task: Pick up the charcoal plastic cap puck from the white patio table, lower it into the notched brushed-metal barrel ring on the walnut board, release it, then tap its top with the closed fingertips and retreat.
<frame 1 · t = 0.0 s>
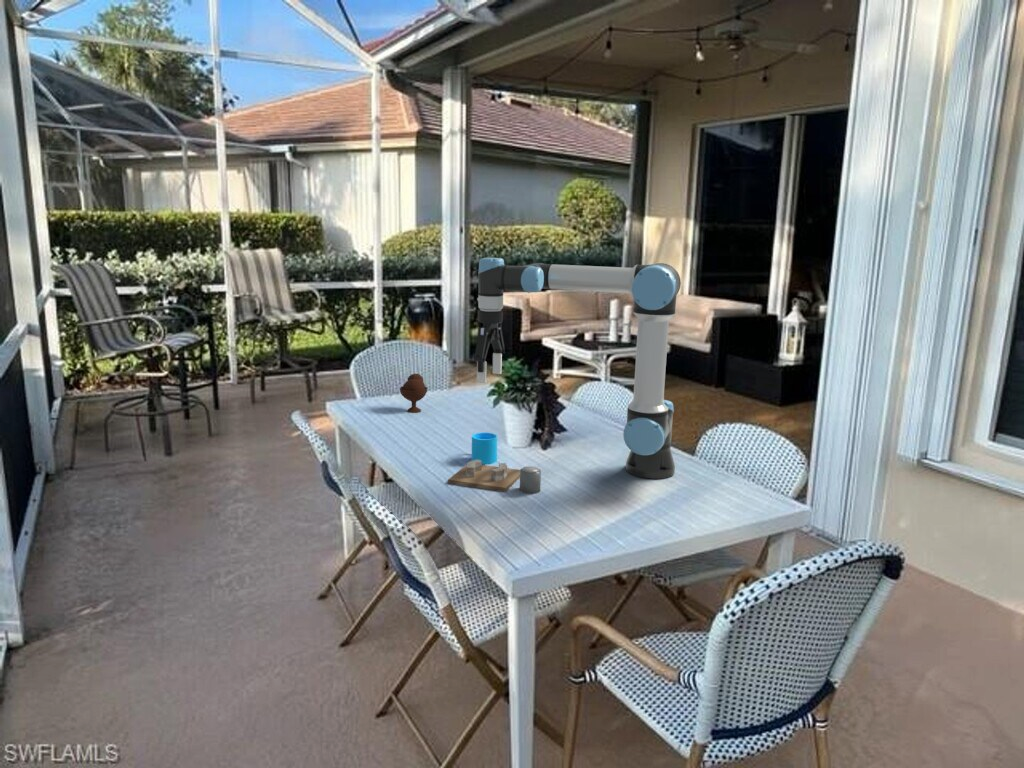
hand: (489, 378, 231), 28 cm above the table, fingers open, 13 cm apart
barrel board: (486, 478, 224), on the table
ice cream bowl: (414, 411, 297), on the table
mug: (481, 459, 242), on the table
cap: (529, 490, 216), on the table
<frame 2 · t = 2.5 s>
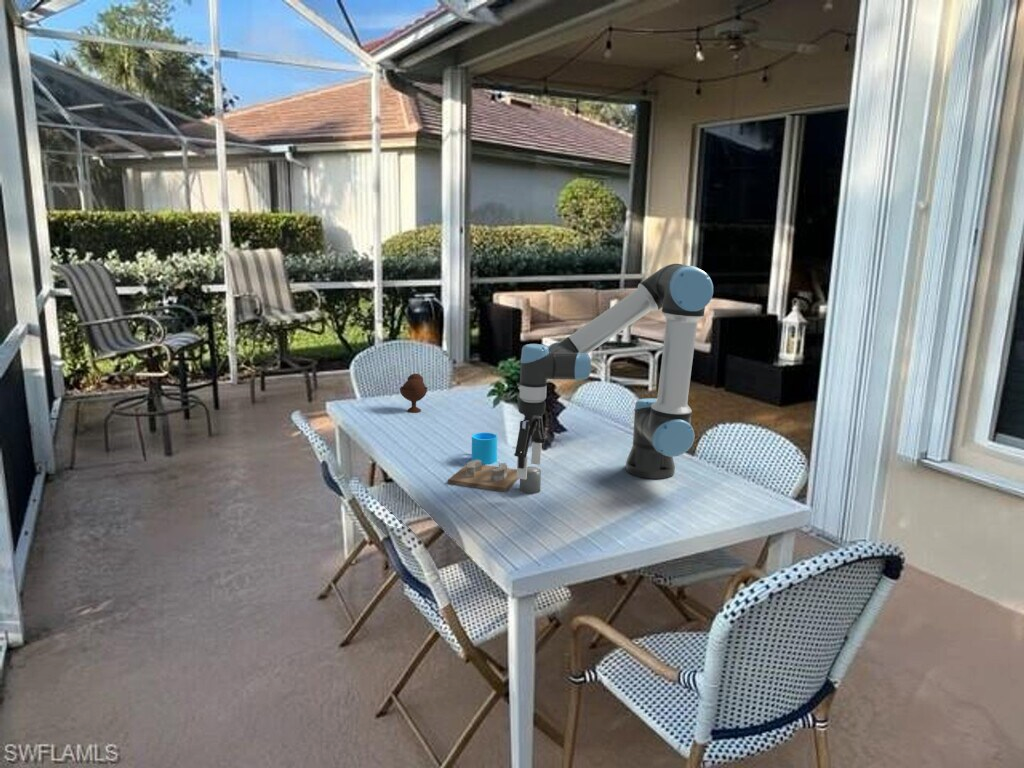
hand: (528, 471, 214), 6 cm above the table, fingers open, 13 cm apart
nothing on the table moved.
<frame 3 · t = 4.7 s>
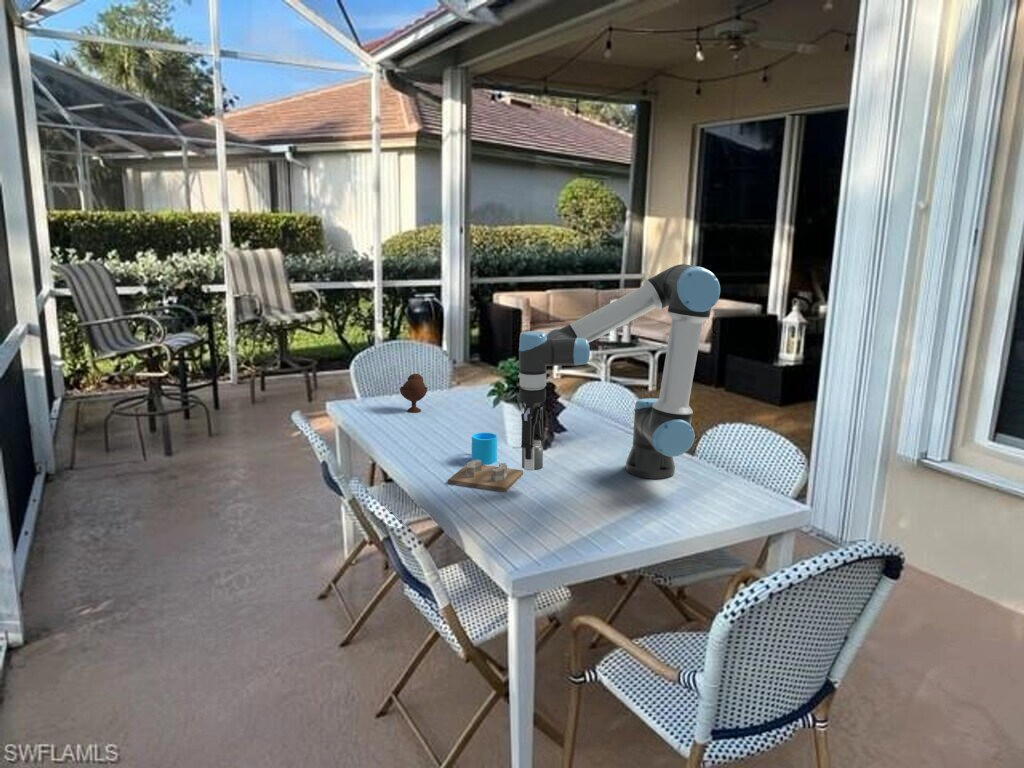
hand: (532, 465, 214), 7 cm above the table, fingers closed on cap, 6 cm apart
cap: (532, 466, 214), point 7 cm above the table, touching gripper
everything else where it was.
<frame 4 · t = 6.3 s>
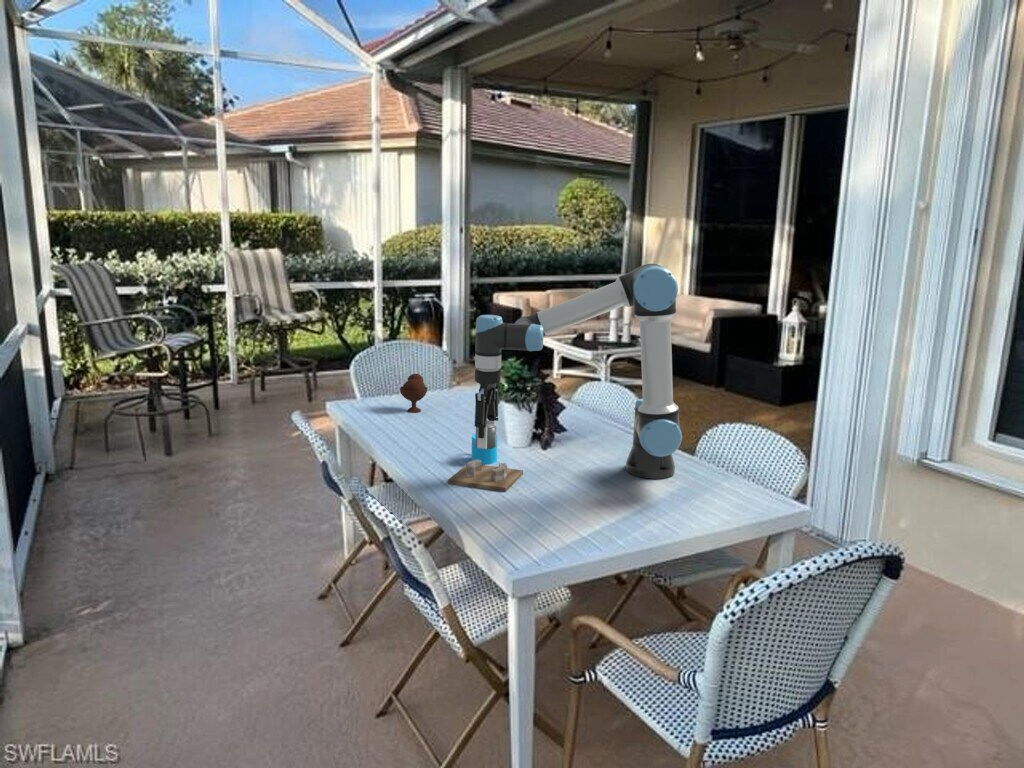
hand: (486, 444, 222), 11 cm above the table, fingers closed on cap, 6 cm apart
cap: (485, 445, 222), point 10 cm above the table, touching gripper
everything else where it was.
when the fingers open (2 cm above the table, at t = 7.8 s): cap stays where it is, resting on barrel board.
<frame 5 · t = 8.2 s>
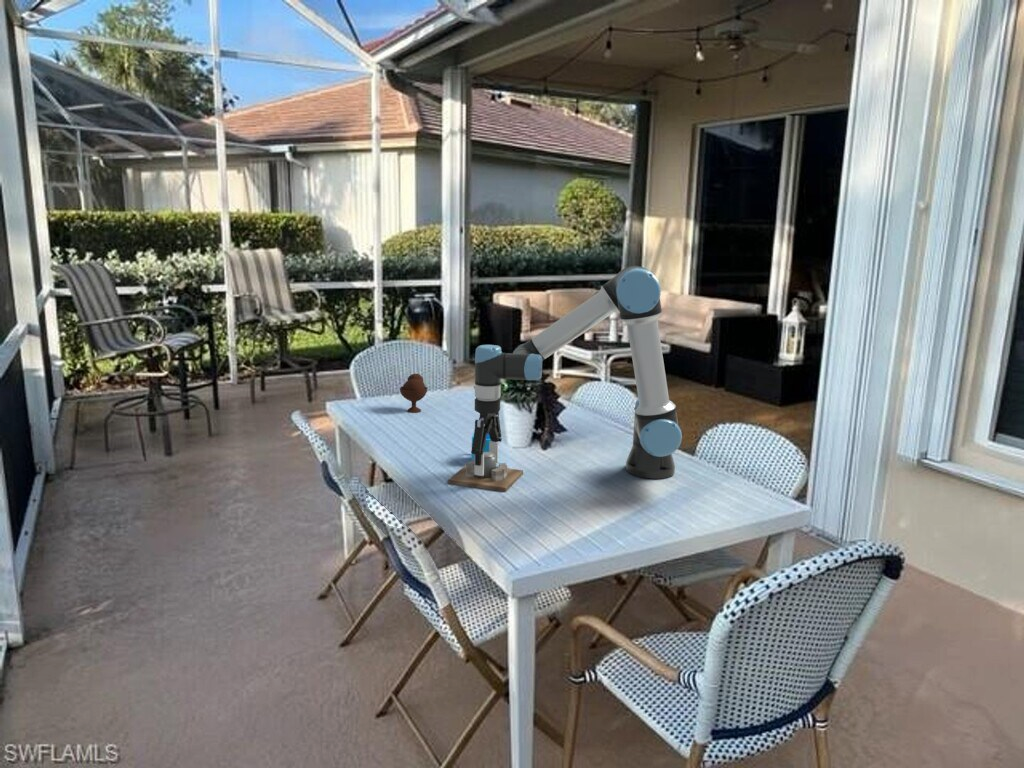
hand: (486, 468, 223), 3 cm above the table, fingers open, 11 cm apart
cap: (485, 474, 224), point 1 cm above the table, touching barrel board
everything else where it was.
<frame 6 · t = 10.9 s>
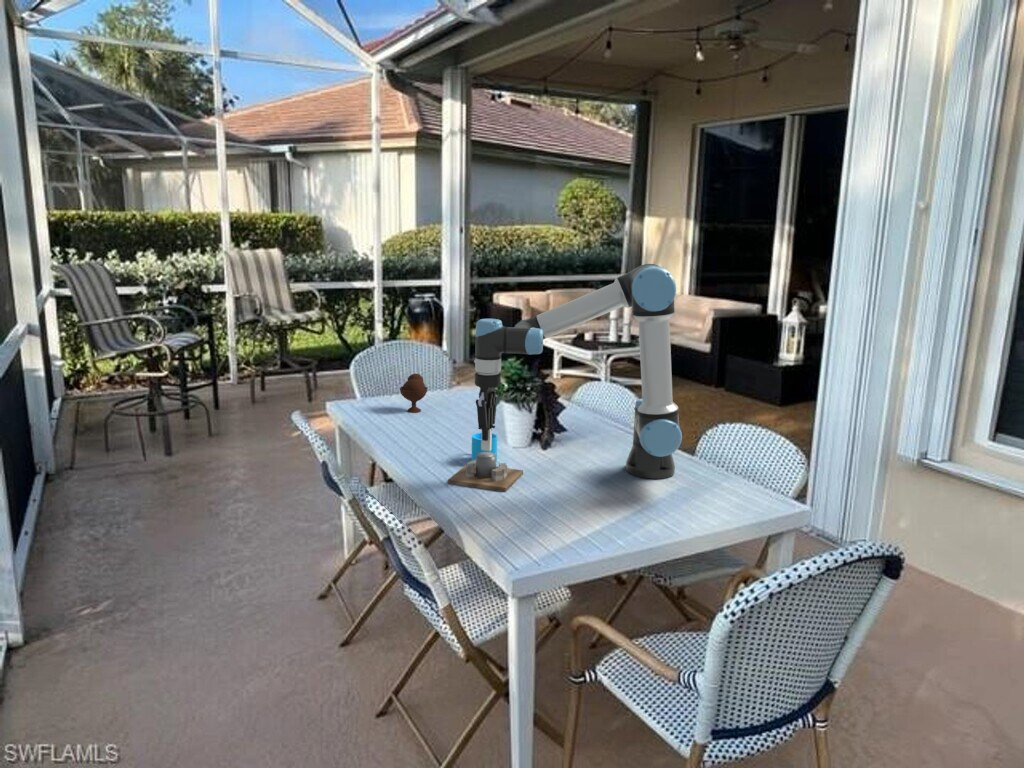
hand: (486, 449, 222), 9 cm above the table, fingers closed
nothing on the table moved.
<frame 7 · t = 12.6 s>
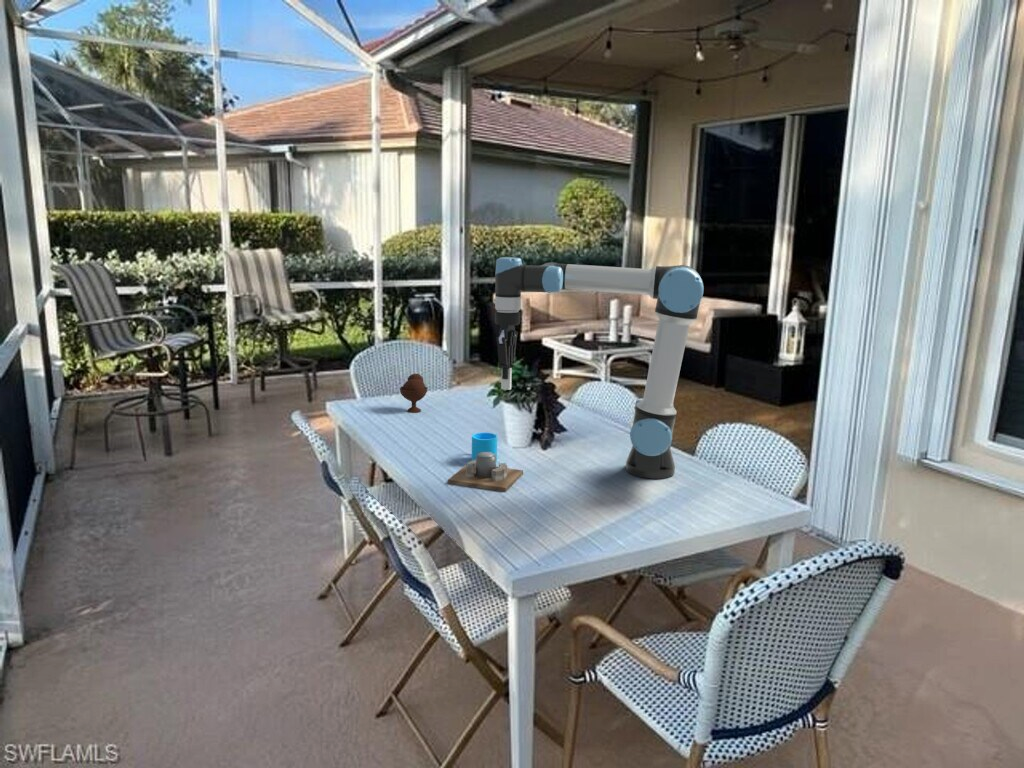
hand: (506, 388, 224), 26 cm above the table, fingers closed
nothing on the table moved.
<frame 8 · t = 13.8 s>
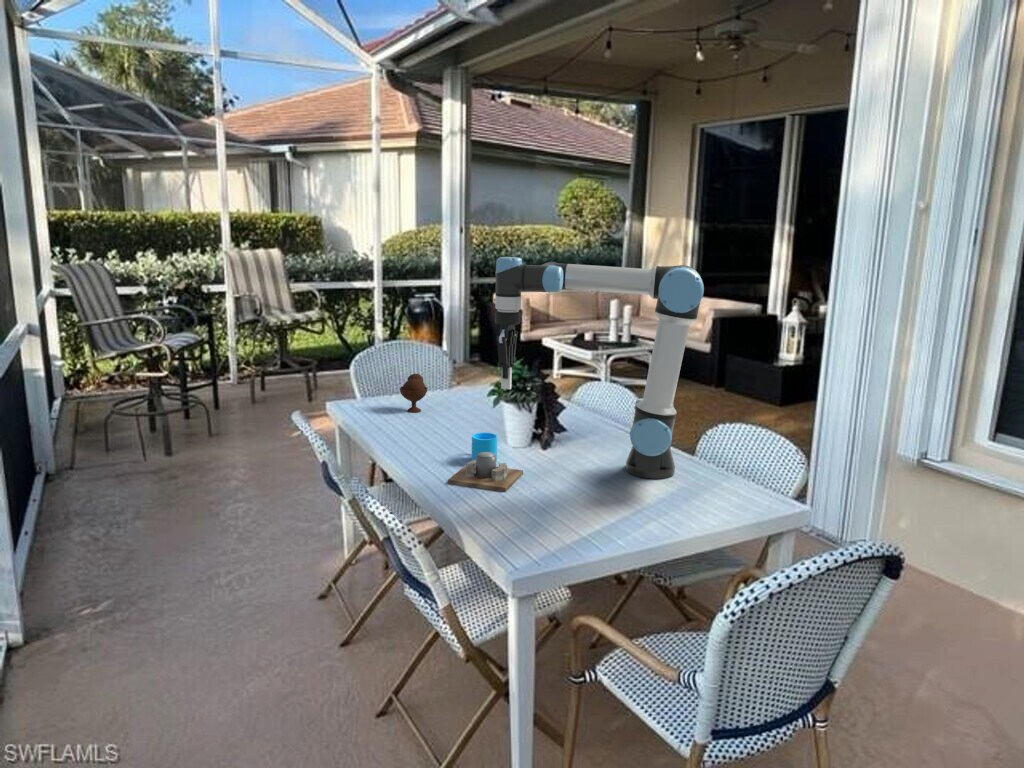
hand: (506, 388, 224), 26 cm above the table, fingers closed
nothing on the table moved.
at the end: cap 0.2 cm off-centre on the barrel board, point 1.2 cm above the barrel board's base; cap tilted 0°; the gripper is holding nothing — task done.
